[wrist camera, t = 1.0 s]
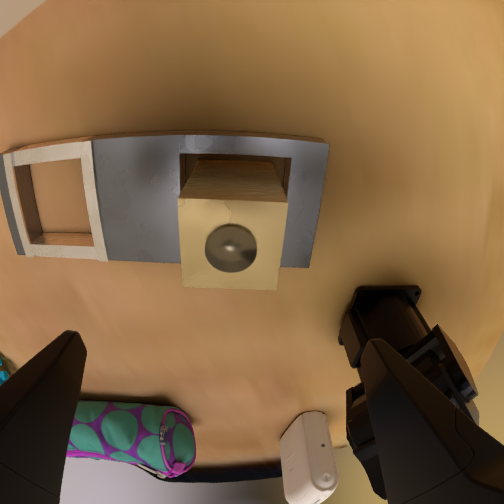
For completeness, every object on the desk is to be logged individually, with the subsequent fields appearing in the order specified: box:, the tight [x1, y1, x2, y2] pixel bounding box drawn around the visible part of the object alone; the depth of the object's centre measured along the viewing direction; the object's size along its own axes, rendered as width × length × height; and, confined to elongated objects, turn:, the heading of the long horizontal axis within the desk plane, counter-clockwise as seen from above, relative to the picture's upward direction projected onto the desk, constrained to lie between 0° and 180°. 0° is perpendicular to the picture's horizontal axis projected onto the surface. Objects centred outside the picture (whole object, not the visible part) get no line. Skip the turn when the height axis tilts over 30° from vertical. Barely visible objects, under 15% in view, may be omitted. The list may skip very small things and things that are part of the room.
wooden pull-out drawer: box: [178, 160, 288, 290], centre depth 15 cm, size 4×4×7 cm
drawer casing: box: [0, 130, 330, 268], centre depth 17 cm, size 22×8×2 cm, turn 86°
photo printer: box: [280, 411, 339, 504], centre depth 30 cm, size 10×4×12 cm, turn 167°
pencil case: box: [66, 400, 196, 478], centre depth 28 cm, size 21×9×10 cm, turn 101°
